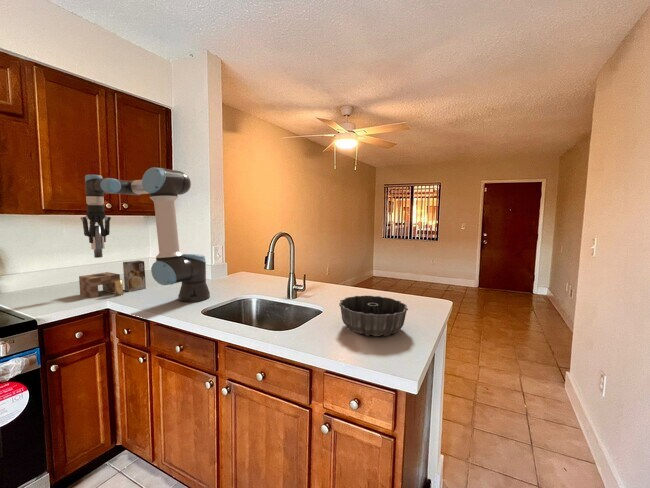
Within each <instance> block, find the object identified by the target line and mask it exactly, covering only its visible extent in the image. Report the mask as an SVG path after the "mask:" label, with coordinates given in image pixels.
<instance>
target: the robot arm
mask: <svg viewBox="0 0 650 488" xmlns="http://www.w3.org/2000/svg"><path fill="white" fill-rule="evenodd" d="M191 185H192V182H191V179H190V178H189V176H188V175H187V174H186V173H185V172H183V171H180V170H176V169H170V168H163V167H150V168H148V169H147V170H146V171H145V172H144V174H143V175H142V179H135V180H124V179H116V178H115V177H114V178H113V177H112V178H111V177H106V178H103V176H102V175H99V174H86V175H85V176H84V186H85V195H86V197H85V200H86V201H85V202H86V203H85V204H87V205H86V215H85V216H81V217H80V220H81V222H82V228H83V236H85V237H88V242H89V244H90V246H91V247H90V248H91V249H90V250H94V249H96V245H95V237H93V235H94V228H95V225H96V223H97V225H99V226H101V238H102V250H104V249H105V243H106V242H107V236H109V235H110V227H111V225H110V223H111V222H110V221H111V219H112V217H111V216H107V215H106V214H105V206H104V205H105V200H104V199H105V198H104V197H105V195H104V194H112V195H113V194H115V195H131V196H141V195H147V194H149V199H150V200H152V202H153V205H154V206H153V207H154V214H155V223H156V224H155V225H156V235H157V245H158V254H157V255H156V256H155V261H154V262H153V263H152V266H151V268H150V269H151V270H150V272H151V276H152V278H153V279H154V281H155V282H157V284H159V285H161V286H171V285H175V284H178V283H181V285H180V289H179V293H178V299H177V300H178V301H180V302H184V303H195V302H201V301H205V300H208V299H210V298H211V293H210V290H209V287H208V285H207V270H206V269H207V265H206V263H207V261H206V257H205V255H203V254H195V253H193V254H192V253H191V254H190V253H182V252H181V251H180V246H179V245H180V244H179V233H178V224H177V214H176V213H177V212H176V205H175V202H176V200H177V199H178V195H179V196H180V195H181V196H182V195H184V194H186V193H188V192H189V191H190V189H191ZM88 220H89V223H88Z"/></svg>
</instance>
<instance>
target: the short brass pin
mask: <svg viewBox="0 0 650 488" xmlns="http://www.w3.org/2000/svg"><path fill="white" fill-rule="evenodd" d="M114 282H115V293H114V296H115V297H122V296H124V287H123V286H124V283H123V282H124V279H120V280H115V281H114ZM121 295H122V296H121Z"/></svg>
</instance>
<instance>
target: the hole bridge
mask: <svg viewBox="0 0 650 488" xmlns="http://www.w3.org/2000/svg"><path fill="white" fill-rule="evenodd" d="M78 280H79V281H78V282H79V295H80V296H83V297H86V298H91V299H94V298H99V286H101V285H102V291H104V292H107V293H114V294H115V282H114V281H115V280H121V275H120V274H119V273H114V272H109V271H107V272H99V273H92V274H86V275H79V276H78Z"/></svg>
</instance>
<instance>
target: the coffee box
mask: <svg viewBox="0 0 650 488" xmlns="http://www.w3.org/2000/svg"><path fill="white" fill-rule="evenodd" d="M122 267H123V271H122V272H123V282H124V283H123V286H124V290H125V291H127V292H133V291H137V290H143V289H147V288H146V287H147V283H146V270H145V269H146V267H145V261H143V260H131V261H130V260H129V261H123V262H122Z"/></svg>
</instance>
